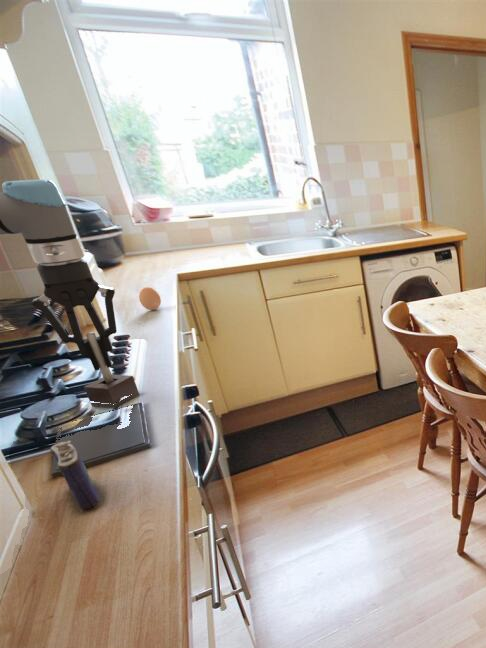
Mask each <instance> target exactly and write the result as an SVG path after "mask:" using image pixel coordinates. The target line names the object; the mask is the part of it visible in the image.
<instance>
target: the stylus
mask: <svg viewBox="0 0 486 648" xmlns="http://www.w3.org/2000/svg"><path fill="white" fill-rule="evenodd" d="M85 336H86V339H88V341H89V343H90V346H91V348H92V351H93V353H94V355H95V358H96V360H97V363H98V365H99V367H100V373H101V375H102V378H103V377H104V380H105V382H106V384H110V383H112V382H114V379H113V376H112V374H113V373H112V372H111V369H110V367H109V368H108V367H107V365H106V362H105V360H104V357H103V355H102V352H101V350H100V347H99V345H98V342H97V337H98V336H97V335H96V333H95V332H93V331H88V332H87V333H86V335H85Z"/></svg>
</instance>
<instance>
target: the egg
mask: <svg viewBox="0 0 486 648" xmlns="http://www.w3.org/2000/svg"><path fill="white" fill-rule="evenodd" d="M138 297H139V298H138V299H139V302H140V304H141V306H142V307H143V308H144V309H146V310H148V311H156V310H158V309H159V307H160V306H161V303H162V300H161V296H160V294H159V293H158V291H157V290H155V289H154V288H152V287H150V286H145V287H143V288H142V289H141V290H140V291H139V294H138Z"/></svg>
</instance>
